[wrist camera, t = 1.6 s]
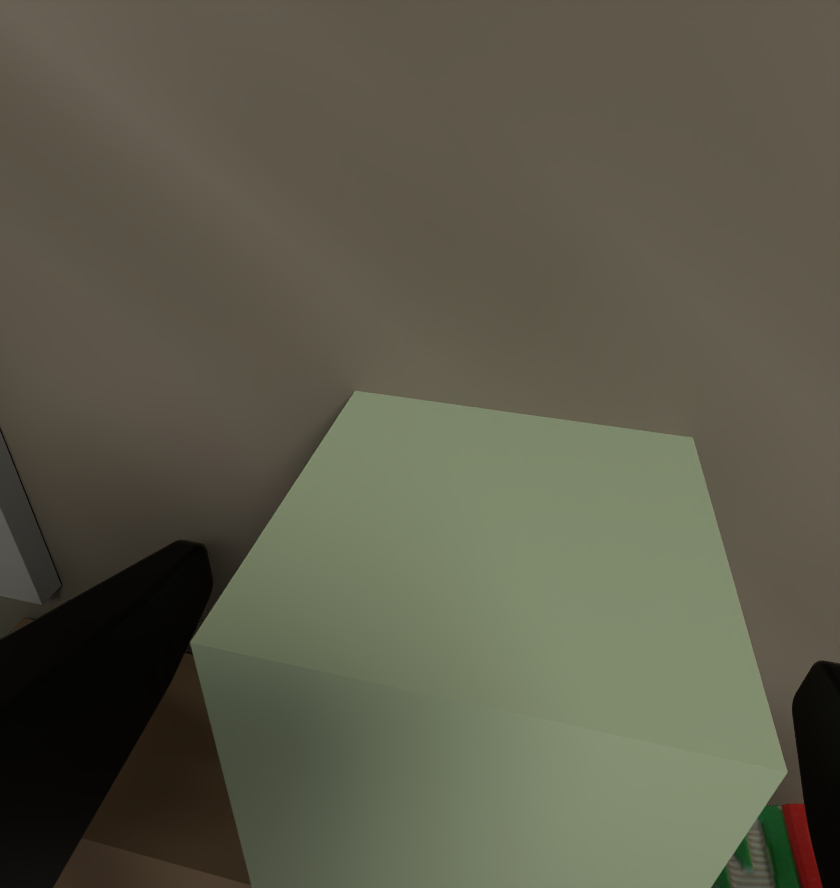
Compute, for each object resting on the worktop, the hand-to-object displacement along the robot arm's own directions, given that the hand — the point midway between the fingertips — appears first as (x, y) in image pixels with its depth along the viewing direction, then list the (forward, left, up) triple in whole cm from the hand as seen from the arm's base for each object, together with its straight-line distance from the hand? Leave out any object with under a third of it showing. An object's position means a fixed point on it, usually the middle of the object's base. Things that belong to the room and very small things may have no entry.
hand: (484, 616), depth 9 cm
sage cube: (0, 0, -2) cm, 2 cm away
